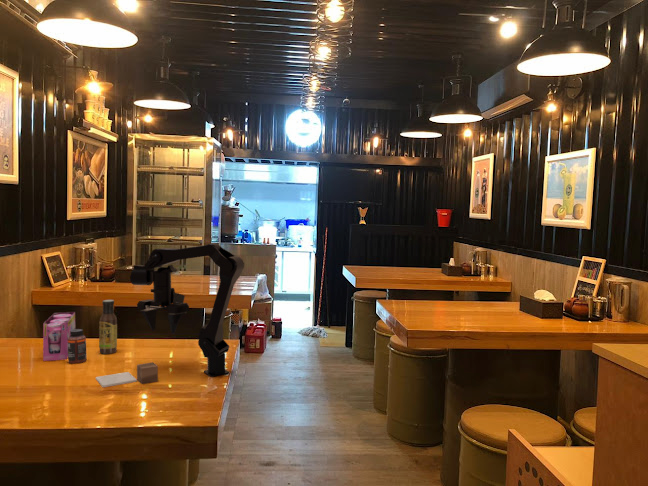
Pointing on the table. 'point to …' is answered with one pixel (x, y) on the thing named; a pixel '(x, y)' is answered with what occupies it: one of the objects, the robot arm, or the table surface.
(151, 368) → the walnut cube
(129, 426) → the table surface
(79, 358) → the supplement bottle
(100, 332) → the sauce bottle
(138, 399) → the table surface
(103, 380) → the stone coaster
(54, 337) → the gum box
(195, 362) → the table surface
